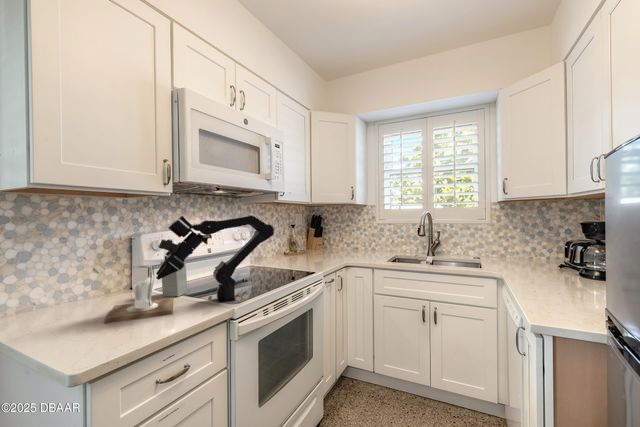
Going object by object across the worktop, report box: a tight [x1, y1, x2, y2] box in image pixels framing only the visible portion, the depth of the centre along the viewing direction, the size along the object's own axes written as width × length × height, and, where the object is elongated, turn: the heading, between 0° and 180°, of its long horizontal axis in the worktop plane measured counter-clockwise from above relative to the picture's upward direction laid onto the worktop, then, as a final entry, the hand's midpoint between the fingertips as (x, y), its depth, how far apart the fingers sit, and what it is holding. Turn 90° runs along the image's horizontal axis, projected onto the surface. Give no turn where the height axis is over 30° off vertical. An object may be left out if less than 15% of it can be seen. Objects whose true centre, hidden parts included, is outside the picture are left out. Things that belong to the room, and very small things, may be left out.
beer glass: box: [131, 264, 155, 310], centre depth 106 cm, size 7×7×15 cm
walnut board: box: [104, 298, 175, 324], centre depth 106 cm, size 20×16×2 cm
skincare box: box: [160, 260, 188, 297], centre depth 129 cm, size 8×7×16 cm
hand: (157, 276), depth 109 cm, fingers open, 9 cm apart
